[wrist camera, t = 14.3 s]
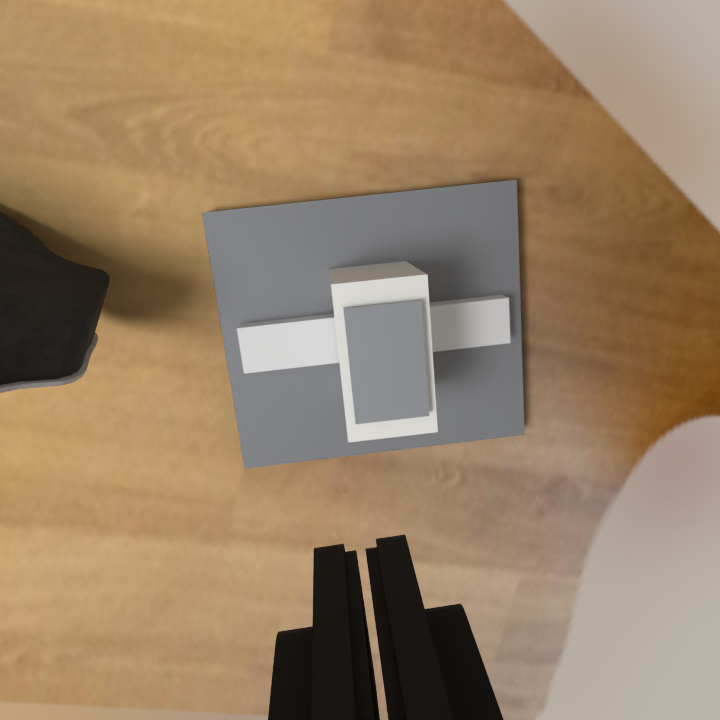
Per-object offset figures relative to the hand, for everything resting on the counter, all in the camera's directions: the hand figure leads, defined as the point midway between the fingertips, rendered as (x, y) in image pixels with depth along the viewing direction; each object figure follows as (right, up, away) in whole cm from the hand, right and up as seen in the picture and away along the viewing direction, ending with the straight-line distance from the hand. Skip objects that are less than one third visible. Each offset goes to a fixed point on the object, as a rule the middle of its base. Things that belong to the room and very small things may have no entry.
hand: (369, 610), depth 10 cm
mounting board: (0, +6, +22) cm, 22 cm away
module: (0, +6, +20) cm, 21 cm away
